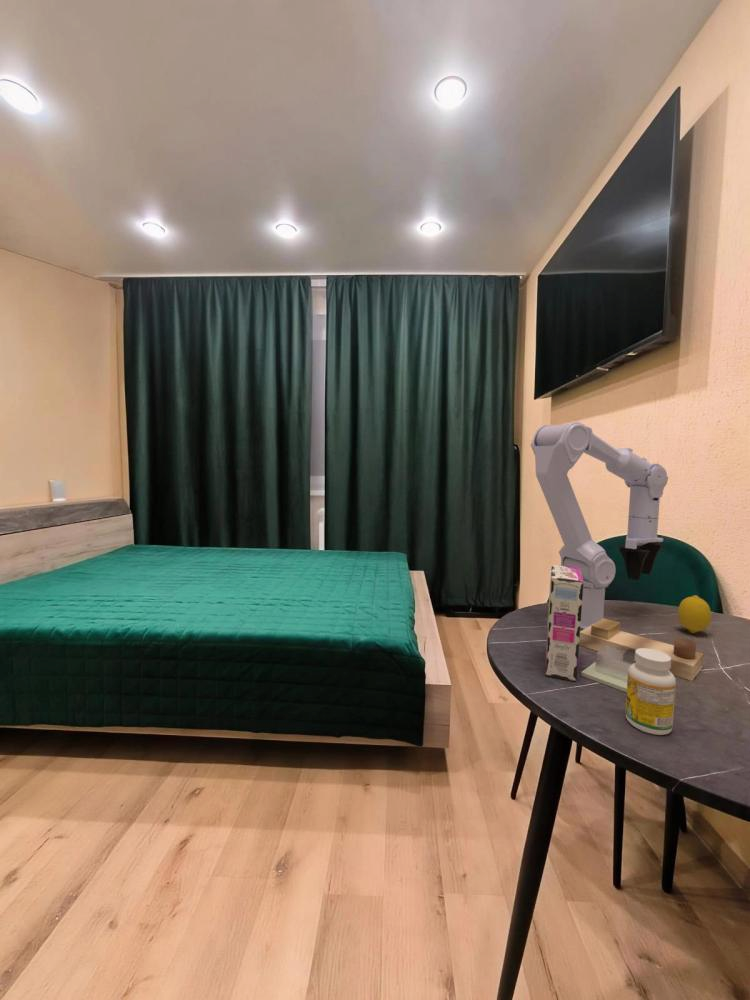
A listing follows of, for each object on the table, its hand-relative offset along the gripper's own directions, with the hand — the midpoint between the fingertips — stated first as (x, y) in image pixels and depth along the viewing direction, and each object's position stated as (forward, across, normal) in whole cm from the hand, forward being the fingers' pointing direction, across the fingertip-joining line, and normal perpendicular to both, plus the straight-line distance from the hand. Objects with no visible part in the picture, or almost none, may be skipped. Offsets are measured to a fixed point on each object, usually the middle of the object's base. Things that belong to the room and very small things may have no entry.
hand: (639, 576), depth 98 cm
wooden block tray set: (+9, -23, -7) cm, 26 cm away
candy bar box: (+10, -37, 0) cm, 38 cm away
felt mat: (+9, -34, -8) cm, 36 cm away
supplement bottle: (+10, -45, -15) cm, 48 cm away
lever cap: (+9, -34, -8) cm, 36 cm away
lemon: (+10, -2, -11) cm, 15 cm away
